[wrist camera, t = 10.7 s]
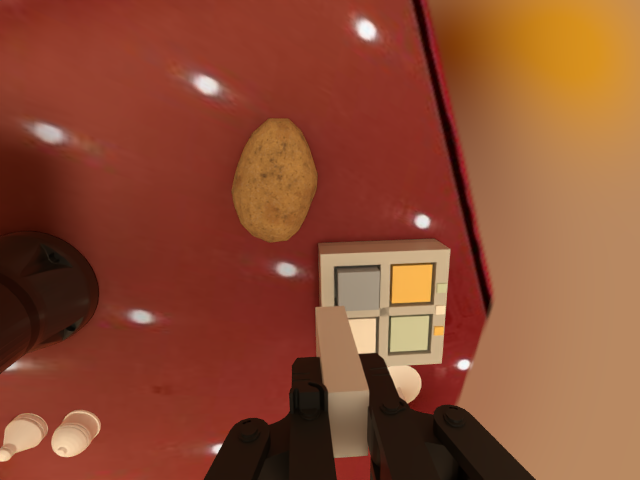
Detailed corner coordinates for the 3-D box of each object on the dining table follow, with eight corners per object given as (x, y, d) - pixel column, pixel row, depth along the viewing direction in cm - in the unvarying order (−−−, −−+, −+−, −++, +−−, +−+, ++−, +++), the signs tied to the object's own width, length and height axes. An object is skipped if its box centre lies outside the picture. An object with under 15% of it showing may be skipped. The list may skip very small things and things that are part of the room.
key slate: (336, 302, 46) (338, 311, 43) (335, 266, 45) (338, 273, 42) (374, 300, 46) (379, 309, 44) (375, 264, 45) (379, 271, 42)
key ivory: (335, 344, 49) (337, 354, 47) (335, 311, 48) (337, 320, 45) (371, 342, 49) (375, 352, 47) (371, 309, 48) (376, 318, 46)
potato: (323, 126, 44) (329, 122, 36) (307, 235, 47) (309, 253, 40) (244, 114, 43) (232, 107, 35) (234, 226, 46) (221, 242, 39)
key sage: (385, 341, 50) (390, 351, 47) (386, 308, 48) (391, 317, 46) (420, 339, 50) (427, 349, 47) (422, 307, 48) (429, 315, 46)
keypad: (320, 348, 52) (323, 371, 46) (317, 243, 48) (320, 255, 42) (427, 342, 53) (442, 364, 47) (434, 238, 49) (451, 249, 43)
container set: (-35, 444, 53) (-73, 478, 47) (-45, 414, 51) (-85, 446, 46) (104, 436, 54) (83, 468, 48) (98, 407, 52) (76, 437, 47)
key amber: (386, 295, 48) (391, 303, 45) (387, 259, 46) (393, 266, 44) (423, 293, 48) (430, 301, 45) (425, 258, 47) (432, 264, 44)
